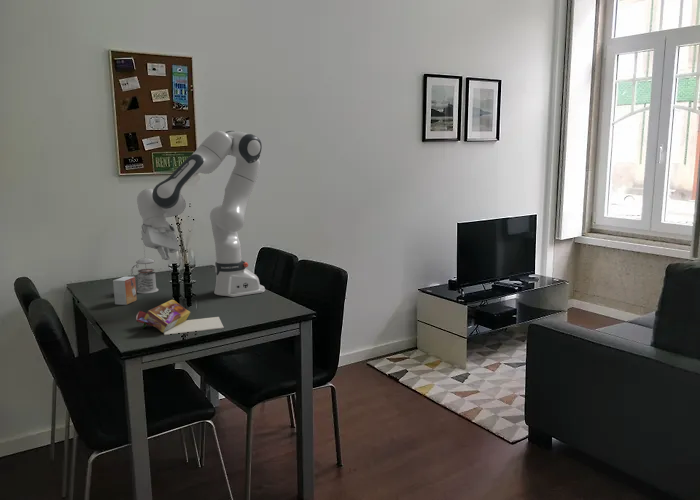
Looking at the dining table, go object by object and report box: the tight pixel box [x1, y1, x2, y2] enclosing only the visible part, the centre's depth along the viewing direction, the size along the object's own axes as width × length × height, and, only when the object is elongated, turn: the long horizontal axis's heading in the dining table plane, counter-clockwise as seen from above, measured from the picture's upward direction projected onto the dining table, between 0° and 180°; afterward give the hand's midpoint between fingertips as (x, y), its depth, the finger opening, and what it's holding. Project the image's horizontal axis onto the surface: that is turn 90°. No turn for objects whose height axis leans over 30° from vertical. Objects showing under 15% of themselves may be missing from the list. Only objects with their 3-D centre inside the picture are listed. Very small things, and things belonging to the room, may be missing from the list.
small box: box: [112, 276, 138, 306], centre depth 242 cm, size 8×6×10 cm
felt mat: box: [163, 316, 225, 336], centre depth 209 cm, size 20×14×1 cm
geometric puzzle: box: [135, 308, 155, 330], centre depth 208 cm, size 7×7×8 cm
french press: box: [130, 237, 159, 294], centre depth 260 cm, size 10×12×25 cm
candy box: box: [144, 299, 191, 333], centre depth 208 cm, size 9×4×15 cm
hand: (166, 259), depth 224 cm, fingers closed
